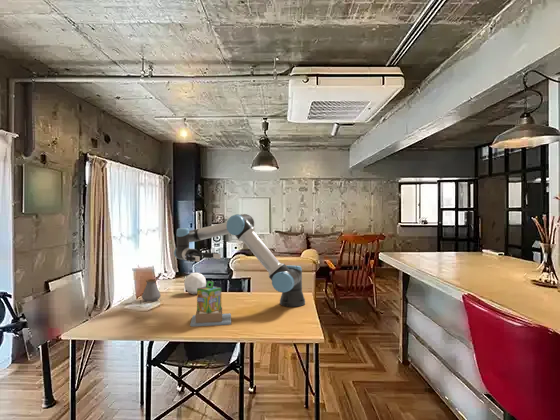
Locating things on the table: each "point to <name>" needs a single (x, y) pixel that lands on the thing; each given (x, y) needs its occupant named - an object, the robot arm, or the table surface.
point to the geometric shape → (194, 282)
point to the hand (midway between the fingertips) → (209, 257)
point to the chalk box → (209, 298)
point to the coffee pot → (151, 290)
